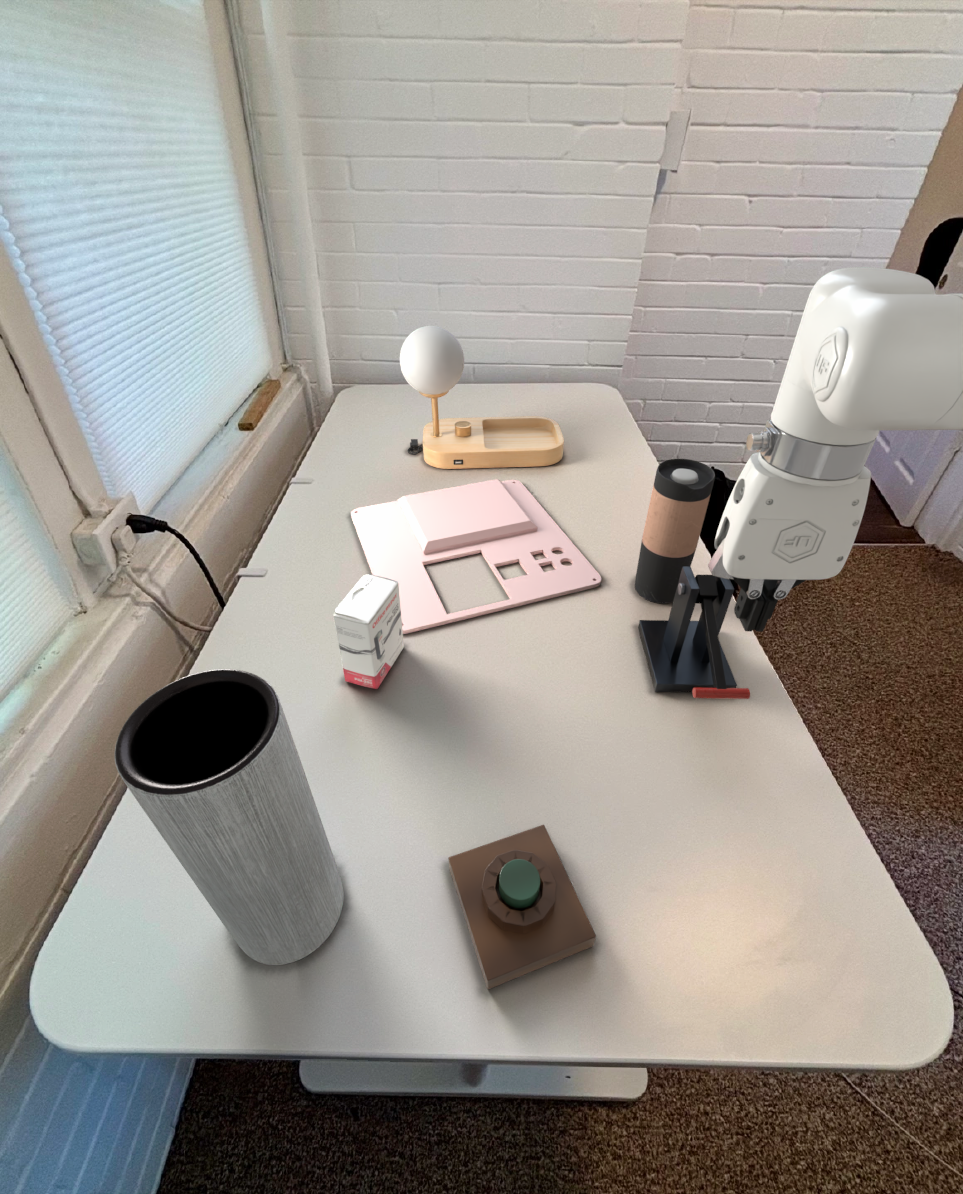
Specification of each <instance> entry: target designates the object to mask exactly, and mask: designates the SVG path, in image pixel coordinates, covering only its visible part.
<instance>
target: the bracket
mask: <svg viewBox="0 0 963 1194" xmlns="http://www.w3.org/2000/svg"><path fill="white" fill-rule="evenodd" d="M695 577H696V575H695V574H694V572H693V569H692V566H691V567H685V566H683V567H682V571H681V574H680V578H679V582H678V586H677V589H676V593H675V597H674V601H673V602H672V605H671V609H670V613H669V615H668V619H667V620H664V619H662V620H660V619H659V620H658V619H641V620H639V621H638V626H637V630H638V633H639V636H640V640H641V644H642V645H641V646H642V648H643V652H644V656H645V661H646V664H647V667H648V672H649V675H650V678H651V682H652V686H653V691H654V692H655V693H692V691H693V688H694V687H702V688H714V686H713V679H712V673H711V667H710V660H709V654H708V647H707V641H706V635H705V628H704V622H703V615H702V611H701V613H700V616H699V619H698V620H692V617H693V614H694V610H695V606H696V604H695V603H696V600H697V597H698V593H699V590H700V588H699V586H698V584H697V581H696V579H695ZM715 579H716V584H717V590H718V596H717V598H716V599H715V600H714V601H713V609H714V615H715V621H716V627H717V633H718V636H719V635H720V632H721V630H722V626H723V624H724V621H725V618H726V615H727V612H728V609H729V606H730V603H731V600H732V597H733V594H734V592H735V588H734V585H733V583H732V582H731V579H725V578H721V577H716V576H715ZM719 645H720V651H721V657H722V663H723V669H724V675H725V681H726V687H727V688H738V683H737V681H736V678H735V676H734V674H733V672H732V669H731V666H730V664H729V662H728V659H727V657H726V654H725V651H724V649H723V647H722V645H721V642H720V641H719Z"/></svg>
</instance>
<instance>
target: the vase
mask: <svg viewBox="0 0 963 1194" xmlns="http://www.w3.org/2000/svg"><path fill="white" fill-rule="evenodd" d="M114 763H115V764H114V765H115V767H116V770H117V771H116V772H117V773H118V775H119V777H120V778H121V780H122V781H123V783H124V784H125V785H126V787H127V788H128V790H129V791H130V793H131V794H132V796H133V798H134V799H135V800H136V801H137V803H138V804H139V806H140V807H141V808H142V811H144V813H145V814H146V816H147V817H148V819H149V820H150V822H151V823H152V825H153V826H154V827H155V829H156V830H157V831H158V833H159V834H160V836H161V837H162V839H163V840H164V842H165V843H166V844H167V846H168V847H169V849H170V850H171V852H172V853H173V854H174V856H175V857H176V859H177V861H178V862H179V863H180V864H181V866H182V868H183V870H185V872H186V873H187V874H188V876H189V877H190V879H191V880H192V881H193V883H194V884H195V886H196V887H197V889H198V890H199V891H200V894H201V895H202V896H203V898H204V899H205V900H206V902H207V903H208V905H209V906H210V907H211V909H212V911H213V912H214V913H215V914H216V917H218V919H219V920H220V922H221V923H222V924H223V926H224V927H225V929H226V930H227V932H228V933H229V934H230V936H231V937H232V939H233V941H234V942H235V943H236V945H237V946H238V947H239V948H240V949H241V950H242V952H244V954H245V955H247V956H248V957H249V958H250V959H252V960H253V961H255V962H258V963H260V964H263V965H267V966H268V965H269V966H283V965H288V964H293V963H295V962H297V961H300V960H302V959H304V958H305V957H308V956H309V955H311V954H312V953H314V952H315V951H316V950H317V949H319V948H320V947H321V946H322V944H324V943H325V941H326V940H327V939H328V938H329V937H330V935H331V934H332V933H333V931H334V929H335V927H336V926H337V924H338V922H339V919H340V917H341V914H342V910H343V905H344V894H345V893H344V886H343V882H342V881H343V880H342V877H341V874H340V871H339V868H338V865H337V861H336V859H335V856H334V853H333V851H332V848H331V845H330V842H329V839H328V836H327V833H326V830H325V827H324V824H323V822H322V818H321V816H320V812H319V809H318V807H317V804H316V801H315V798H314V796H313V793H312V790H311V787H310V784H309V781H308V777H307V775H306V772H305V769H304V766H303V764H302V760H301V757H300V754H299V752H298V750H297V746H296V744H295V740H294V738H293V734H292V731H291V729H290V725H289V723H288V720H287V717H286V713H285V712H284V709H283V705H282V702H281V700H280V697H279V696H278V693H277V692H276V689H275V688H274V687H273V686H272V685H271V684H270V683H269V682H268V681H267V680H265V679H264V678H262V677H261V676H259V675H257V674H254V673H252V672H250V671H246V670H241V669H234V668H219V669H216V668H215V669H209V670H203V671H199V672H196V673H192V674H189V675H186V676H184V677H181V678H178V679H176V680H174V681H172V682H170V683H168V684H167V685H165V686H163V687H161V688H160V689H158V690H156V691H155V692H154V693H152V694H150V696H148V697H147V698H146V699H144V701H142V702H141V703H140V704H139V705H138V706H137V707H136V708H135V709H134V710H133V712H132V713H131V714H130V715H129V716H128V718H127V720H126V721H125V722H124V723H123V725H122V726H121V729H120V731H119V734H118V736H117V739H116V742H115V746H114Z"/></svg>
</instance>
